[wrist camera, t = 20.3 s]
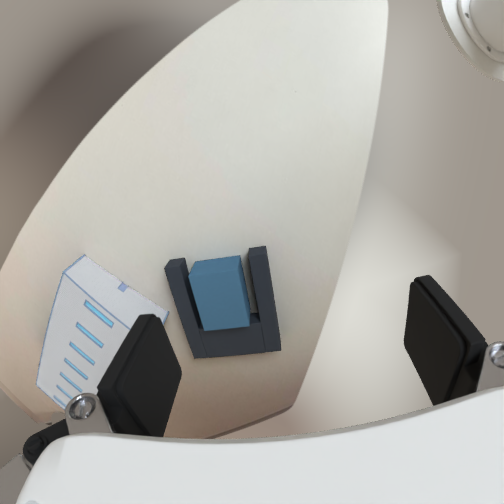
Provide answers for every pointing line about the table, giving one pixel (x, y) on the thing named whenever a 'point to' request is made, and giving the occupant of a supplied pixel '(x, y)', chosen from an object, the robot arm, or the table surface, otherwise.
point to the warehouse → (87, 329)
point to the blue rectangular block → (220, 293)
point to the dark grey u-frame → (233, 339)
